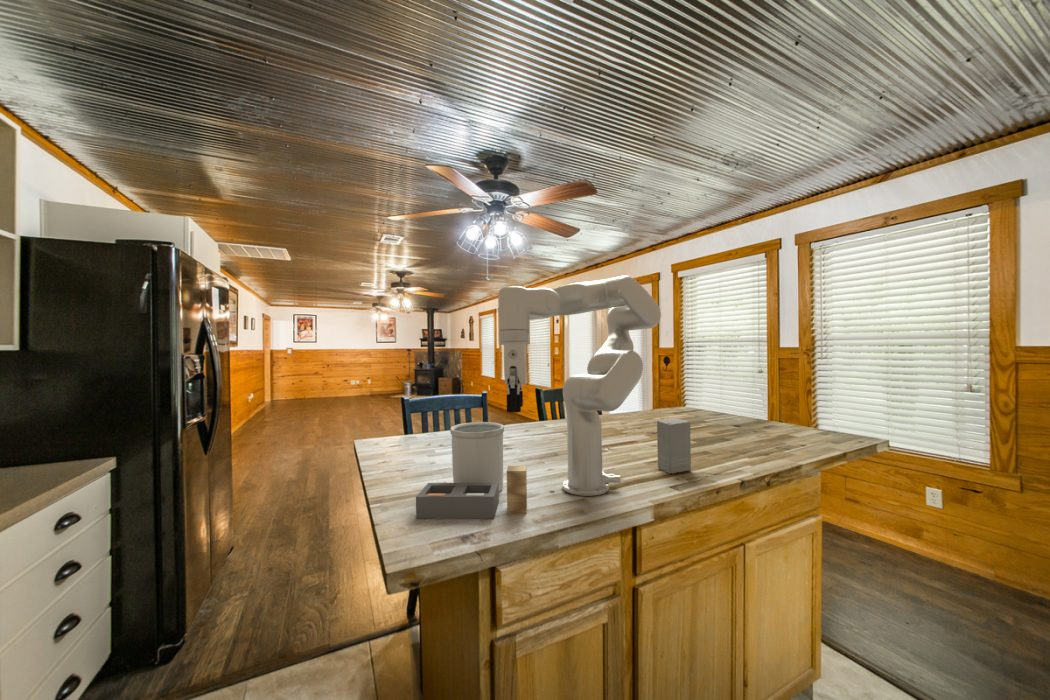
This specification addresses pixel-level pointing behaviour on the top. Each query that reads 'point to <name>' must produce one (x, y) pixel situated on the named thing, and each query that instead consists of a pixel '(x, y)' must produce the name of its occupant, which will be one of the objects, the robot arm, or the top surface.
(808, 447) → the top surface
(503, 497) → the top surface
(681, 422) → the skincare box
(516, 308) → the robot arm
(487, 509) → the socket block
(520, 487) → the plug
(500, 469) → the utensil holder
